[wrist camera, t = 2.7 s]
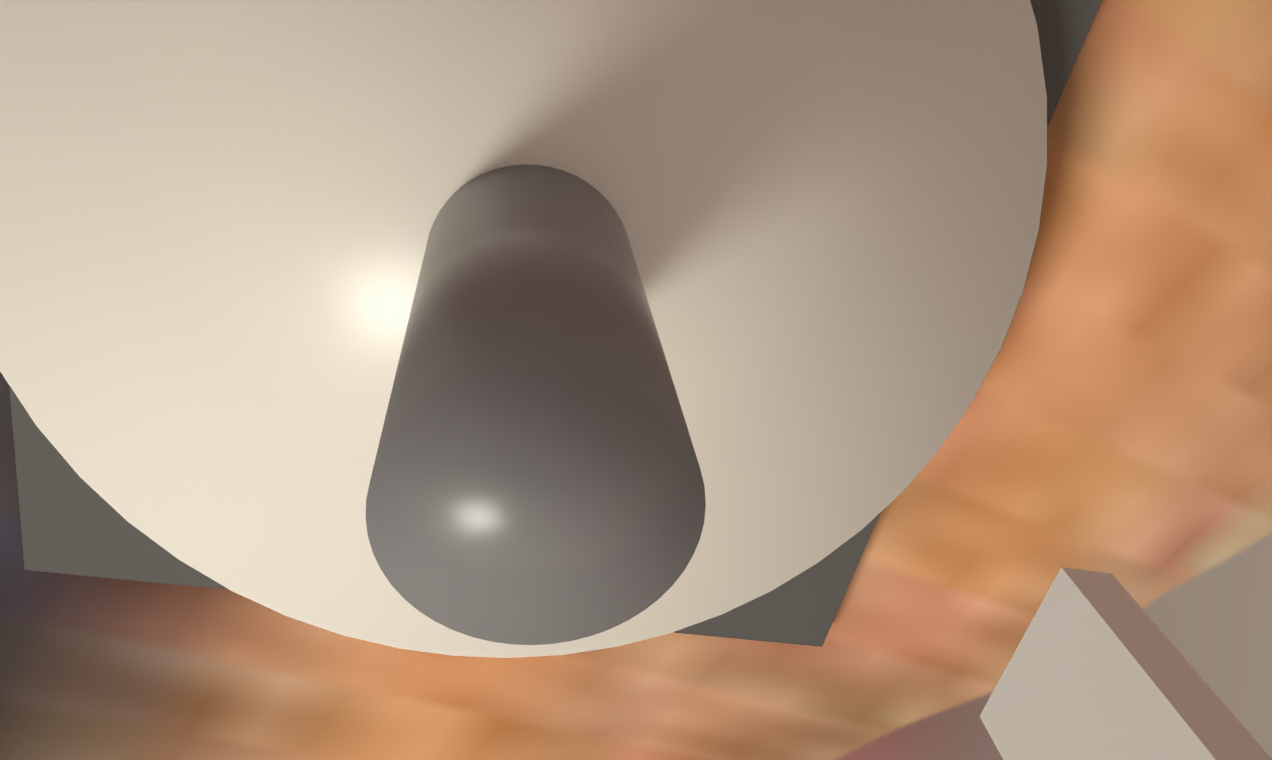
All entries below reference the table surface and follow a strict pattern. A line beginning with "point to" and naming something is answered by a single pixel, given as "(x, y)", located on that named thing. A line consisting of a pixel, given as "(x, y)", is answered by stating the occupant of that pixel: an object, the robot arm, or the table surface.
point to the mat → (113, 548)
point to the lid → (510, 289)
